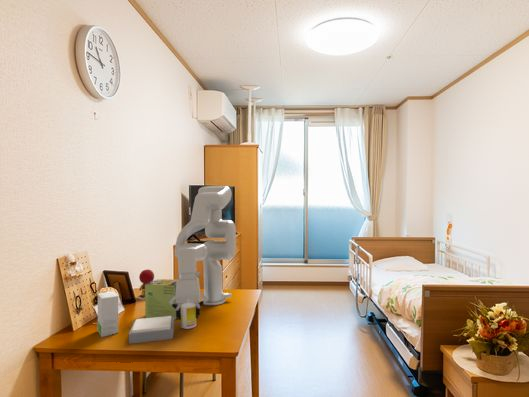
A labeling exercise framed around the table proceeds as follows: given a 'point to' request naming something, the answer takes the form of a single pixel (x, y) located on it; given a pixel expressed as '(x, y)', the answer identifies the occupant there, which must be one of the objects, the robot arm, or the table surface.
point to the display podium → (152, 329)
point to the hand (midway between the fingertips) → (188, 317)
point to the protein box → (160, 298)
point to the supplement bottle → (188, 315)
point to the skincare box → (107, 313)
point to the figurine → (145, 281)
